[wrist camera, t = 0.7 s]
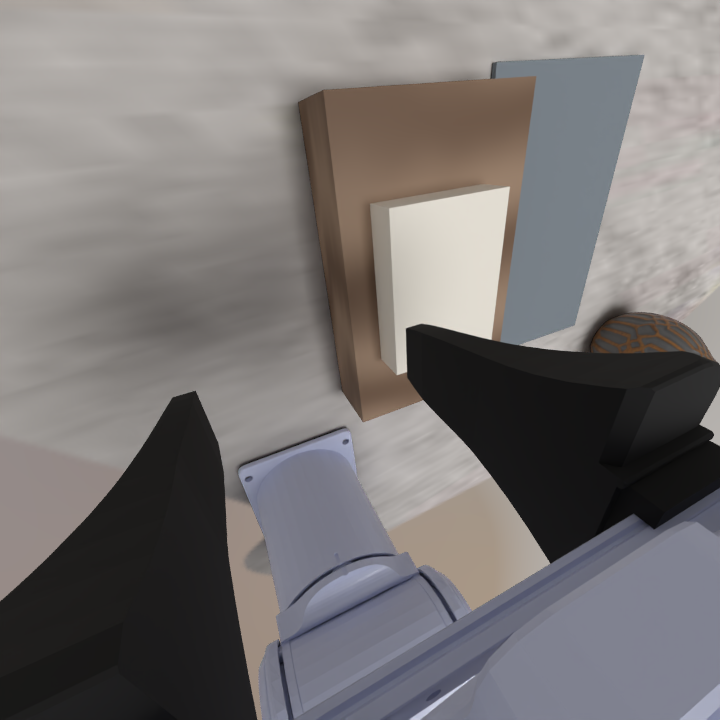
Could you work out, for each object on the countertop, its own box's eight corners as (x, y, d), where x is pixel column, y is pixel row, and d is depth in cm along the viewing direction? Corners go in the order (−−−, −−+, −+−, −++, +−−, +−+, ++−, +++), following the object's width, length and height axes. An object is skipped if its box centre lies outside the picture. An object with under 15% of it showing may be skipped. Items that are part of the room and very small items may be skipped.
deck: (463, 350, 27) (496, 372, 24) (342, 391, 24) (363, 422, 21) (482, 88, 18) (536, 76, 15) (298, 102, 15) (323, 89, 13)
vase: (617, 359, 37) (718, 406, 30) (570, 375, 35) (667, 430, 28) (642, 297, 33) (764, 333, 26) (592, 309, 31) (710, 354, 24)
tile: (470, 330, 21) (490, 343, 20) (381, 359, 19) (397, 375, 18) (482, 184, 17) (509, 186, 15) (369, 203, 15) (389, 208, 14)
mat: (571, 323, 31) (574, 325, 30) (468, 359, 27) (470, 361, 27) (639, 55, 21) (644, 54, 21) (492, 63, 18) (496, 62, 18)
